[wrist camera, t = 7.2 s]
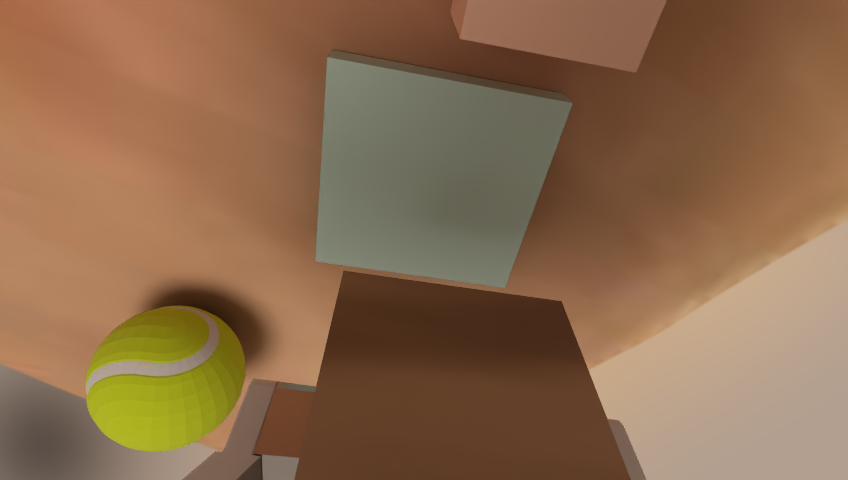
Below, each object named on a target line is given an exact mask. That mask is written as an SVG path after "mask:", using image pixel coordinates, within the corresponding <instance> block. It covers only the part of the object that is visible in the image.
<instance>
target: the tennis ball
mask: <svg viewBox="0 0 848 480" xmlns="http://www.w3.org/2000/svg"><path fill="white" fill-rule="evenodd" d="M244 379H245V356H244V352H243V348H242V346H241V344H240V341H239V340H238V338H237V336H236V334H235V333H234V332H233V331H232V329H231V328H230V327H229V326H228V325H227V324H226V323H225V322H224V321H223V320H221V319H220V318H218V317H217V316H216V315H213V314H211V313H209V312H207V311H204V310H202V309H198V308H195V307H190V306H166V307H161V308H158V309H153V310H148V311H145V312H143V313H140V314H137V315H135V316H133V317H132V318H130V319H128V320H127V321H125V322H124V323H122V324H121V325H119V326H118V327H116V328H115V329H114V330H113V331H112V332H111V333H110V334H109V335H108V336H107V337H106V338H105V339H104V341H103V342H102V343H101V344H100V346H99V347H98V349H97V350H96V352H95V354H94V355H93V357H92V360H91V363H90V366H89V369H88V372H87V375H86V381H85V388H86V394H87V406H88V410H89V413H90V415H91V417H92V419H93V420H94V421H95V423H96V424H97V426H98V427H99V429H100V430H101V431H102V432H103V433H104V434H105V435H106V436H108V437H109V438H110V439H112V440H114V441H115V442H117V443H119V444H121V445H123V446H125V447H128V448H131V449H135V450H141V451H154V452H158V451H168V450H173V449H176V448H181V447H184V446H186V445H189V444H191V443H193V442H196V441H197V440H199V439H201V438H202V437H204V436H205V435H207V434H209V433H210V432H212V431H213V430H214V429H215V428H216V427H218V426H219V425H220V424H221V423H222V422H223V421H224V420H225V418H226V417H227V416H228V415H229V413H230V412H231V411H232V409H233V408H234V406H235V404H236V402H237V401H238V399H239V397H240V394H241V391H242V387H243V383H244Z"/></svg>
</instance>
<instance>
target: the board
mask: <svg viewBox="0 0 848 480" xmlns="http://www.w3.org/2000/svg"><path fill="white" fill-rule="evenodd" d="M572 104H573V103H572V102H571V101H570V100H569V98H568V97H567V96H566V95H565V94H563V93H558V92H552V91H547V90H542V89H536V88H531V87H526V86H521V85H515V84H510V83H505V82H499V81H494V80H489V79H484V78H478V77H473V76H468V75H462V74H457V73H452V72H447V71H441V70H436V69H431V68H426V67H420V66H415V65H410V64H404V63H399V62H394V61H389V60H383V59H378V58H373V57H367V56H362V55H357V54H352V53H346V52H341V51H336V50H333V51H332V52H331V53H330V54H329V56H328V57H327V71H326V88H325V104H324V121H323V138H322V155H321V172H320V188H319V205H318V222H317V239H316V256H315V262H323V263H330V264H337V265H344V266H351V267H358V268H365V269H372V270H379V271H387V272H394V273H401V274H408V275H415V276H422V277H429V278H436V279H444V280H451V281H458V282H465V283H472V284H479V285H486V286H493V287H500V288H505V287H506V284H507V281H508V278H509V276H510V273H511V270H512V268H513V265H514V262H515V259H516V257H517V254H518V251H519V248H520V246H521V243H522V240H523V238H524V235H525V232H526V229H527V227H528V224H529V221H530V218H531V216H532V213H533V210H534V208H535V205H536V202H537V199H538V197H539V194H540V191H541V188H542V186H543V183H544V180H545V178H546V175H547V172H548V169H549V167H550V164H551V161H552V158H553V156H554V153H555V150H556V148H557V145H558V142H559V139H560V137H561V134H562V131H563V129H564V126H565V123H566V120H567V118H568V115H569V112H570V109H571V107H572Z"/></svg>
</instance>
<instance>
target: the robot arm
mask: <svg viewBox="0 0 848 480" xmlns="http://www.w3.org/2000/svg"><path fill="white" fill-rule="evenodd" d="M315 390H316V387H314V386H307V385H300V384H292V383H285V382H278V381H270V380H262V379H253V381H252V382H251V383H250V385H249V387H248V389H247V392H246V395H245V397H244V400H243V402H242V405H241V407H240V410H239V412H238V415H237V418H236V420H235V423H234V425H233V428H232V430H231V433H230V435H229V438H228V441H227V443H226V446H225V448H224V451H223V452H214V453H213V454H212V455H211V456H210V457H208V458H207V459H206V460H205V461H204V462H202V463H201V464H200V465H199V466H198V467H197V468H195V469H194V470H193V471H192V472H191V473H190V474H188V476H186V477H185V478H184V479H182V480H294V479H295V474H296V470H297V466H298V462H299V457H300V453H301V449H302V445H303V440H304V436H305V432H306V428H307V424H308V419H309V415H310V411H311V407H312V402H313V398H314V394H315ZM607 420H608V422H609V425H610V427H611V430H612V433H613V435H614V438H615V440H616V443H617V445H618V448H619V451H620V453H621V456H622V458H623V461H624V463H625V466H626V469H627V471H628V474H629V476H630V479H631V480H646V478H645V476H644V473H643V471H642V468H641V466H640V464H639V461H638V459H637V457H636V454H635V452H634V450H633V447H632V445H631V442H630V440H629V438H628V435H627V433H626V431H625V428H624V426H623V425H622V424H621V422H620V421H618V420H611V419H607Z"/></svg>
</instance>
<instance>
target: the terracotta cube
mask: <svg viewBox="0 0 848 480" xmlns="http://www.w3.org/2000/svg"><path fill="white" fill-rule="evenodd" d="M666 1H667V0H452V6H451V11H450V14H451V16H452V19H453V22H454V24H455V27H456V30H457V32H458V35H459V38H460V39H463V40H468V41H474V42H479V43H484V44H489V45H494V46H499V47H505V48H510V49H515V50H520V51H525V52H531V53H536V54H541V55H546V56H551V57H557V58H562V59H567V60H572V61H577V62H583V63H588V64H593V65H598V66H603V67H609V68H614V69H619V70H624V71H629V72H635V73H636V72H637V69H638V67H639V65H640V62H641V60H642V58H643V55H644V53H645V51H646V48H647V46H648V44H649V41H650V39H651V37H652V34H653V32H654V30H655V27H656V25H657V22H658V20H659V18H660V15H661V13H662V11H663V8H664V6H665V4H666Z"/></svg>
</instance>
